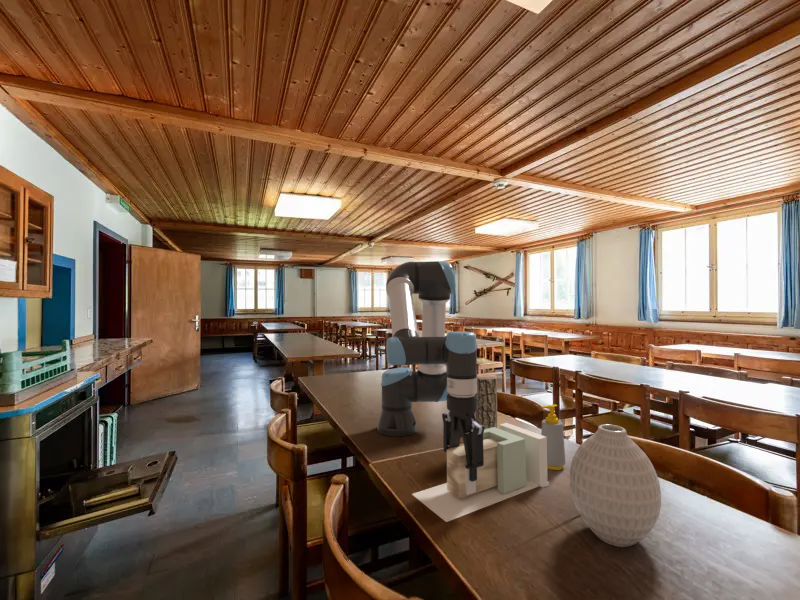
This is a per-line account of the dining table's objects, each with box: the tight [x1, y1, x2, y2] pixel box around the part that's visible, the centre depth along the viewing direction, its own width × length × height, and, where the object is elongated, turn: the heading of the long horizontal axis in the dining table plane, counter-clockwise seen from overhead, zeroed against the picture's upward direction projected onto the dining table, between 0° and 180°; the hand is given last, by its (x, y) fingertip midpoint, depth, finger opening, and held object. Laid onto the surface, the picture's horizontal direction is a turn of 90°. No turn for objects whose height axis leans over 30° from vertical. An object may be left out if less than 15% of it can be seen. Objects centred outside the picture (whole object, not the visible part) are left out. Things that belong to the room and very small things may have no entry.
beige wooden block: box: [446, 438, 499, 498], centre depth 94 cm, size 5×15×10 cm, turn 121°
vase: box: [569, 423, 662, 548], centre depth 76 cm, size 16×16×22 cm
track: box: [411, 422, 550, 523], centre depth 95 cm, size 14×34×13 cm, turn 121°
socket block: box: [483, 427, 526, 494], centre depth 98 cm, size 11×8×12 cm
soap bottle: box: [540, 403, 566, 471], centre depth 109 cm, size 7×7×18 cm
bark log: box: [475, 373, 498, 429], centre depth 119 cm, size 7×7×25 cm
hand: (462, 487), depth 92 cm, fingers closed on beige wooden block, 5 cm apart
